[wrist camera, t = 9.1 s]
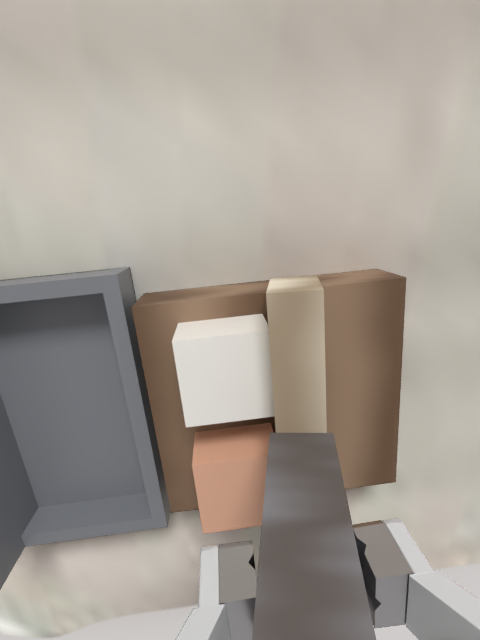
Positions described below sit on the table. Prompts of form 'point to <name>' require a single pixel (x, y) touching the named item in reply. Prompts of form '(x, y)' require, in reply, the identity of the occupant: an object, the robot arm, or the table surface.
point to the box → (74, 414)
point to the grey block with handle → (305, 488)
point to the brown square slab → (340, 365)
